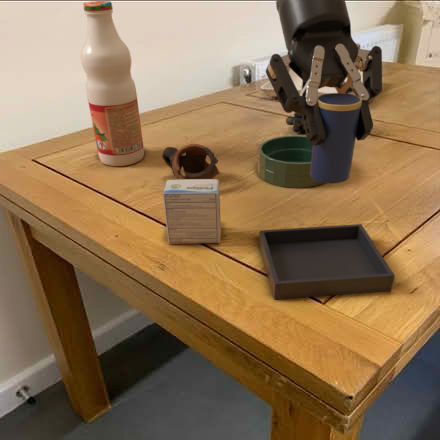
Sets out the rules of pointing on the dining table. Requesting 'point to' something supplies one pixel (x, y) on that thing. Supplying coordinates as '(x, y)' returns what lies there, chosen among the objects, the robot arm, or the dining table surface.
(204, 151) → the pottery mug
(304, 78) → the robot arm
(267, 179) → the bowl
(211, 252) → the dining table surface
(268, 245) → the tray
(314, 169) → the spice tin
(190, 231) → the medicine box
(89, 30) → the fruit juice
